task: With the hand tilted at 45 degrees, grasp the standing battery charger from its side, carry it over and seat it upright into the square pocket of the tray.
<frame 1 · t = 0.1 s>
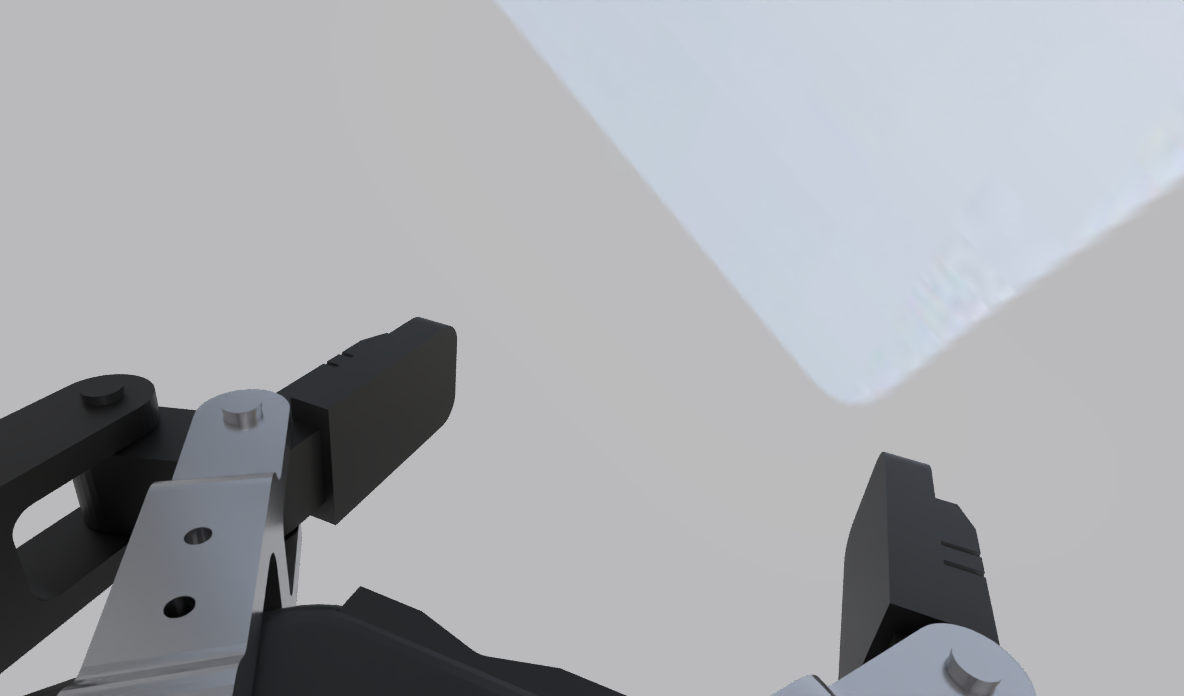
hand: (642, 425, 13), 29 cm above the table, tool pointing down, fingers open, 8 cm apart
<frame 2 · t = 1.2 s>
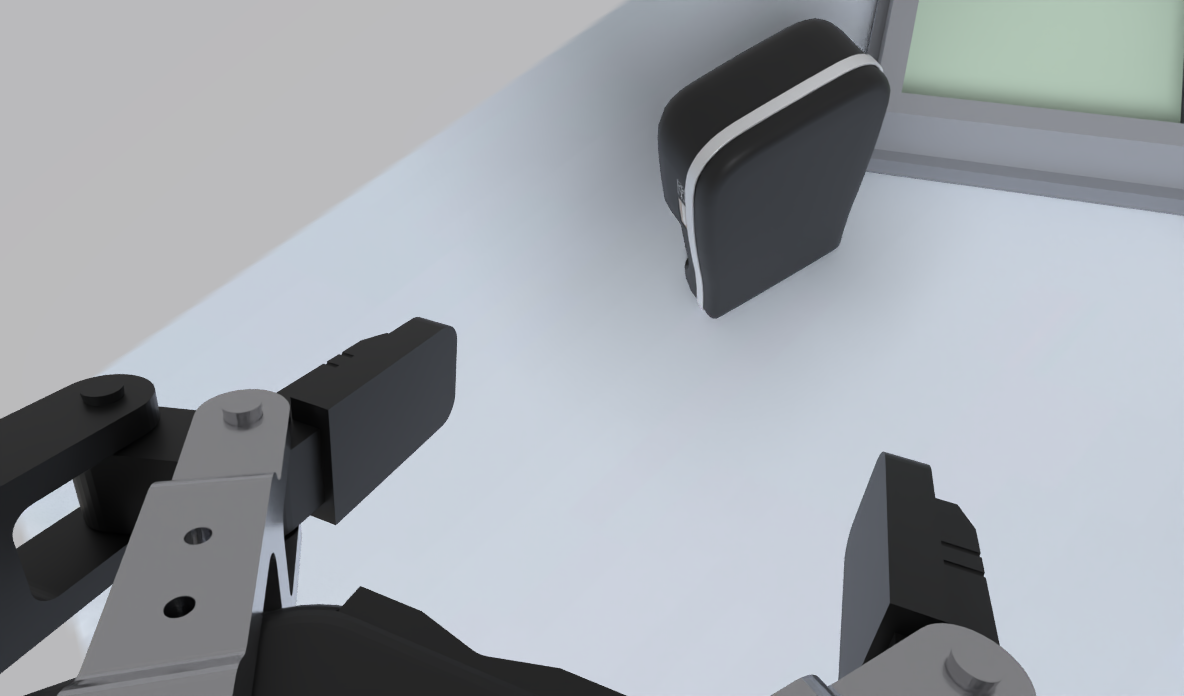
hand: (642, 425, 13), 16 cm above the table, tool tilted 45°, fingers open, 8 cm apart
battery charger: (752, 256, 31), on the table
tray: (1029, 59, 31), on the table
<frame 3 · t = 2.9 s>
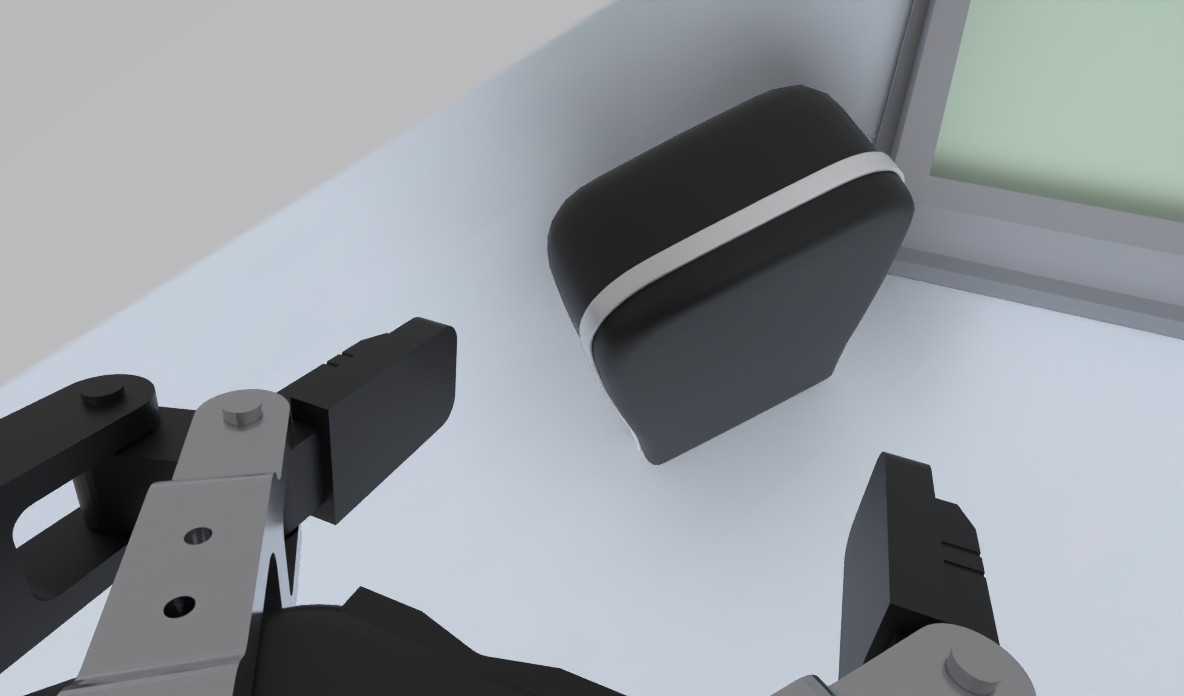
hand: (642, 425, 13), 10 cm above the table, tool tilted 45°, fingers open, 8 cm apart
battery charger: (715, 376, 23), on the table
tray: (1103, 131, 23), on the table
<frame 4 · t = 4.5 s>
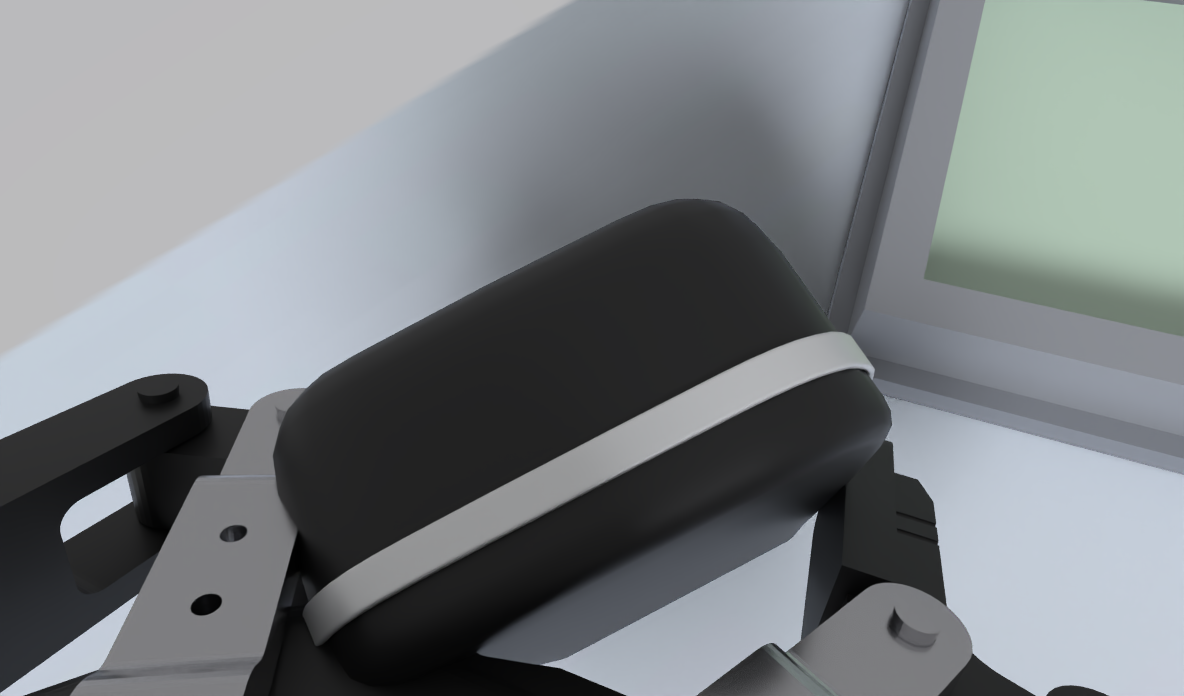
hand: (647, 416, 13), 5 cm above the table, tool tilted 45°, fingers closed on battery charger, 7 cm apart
battery charger: (642, 527, 17), on the table, touching gripper
tray: (1148, 202, 18), on the table
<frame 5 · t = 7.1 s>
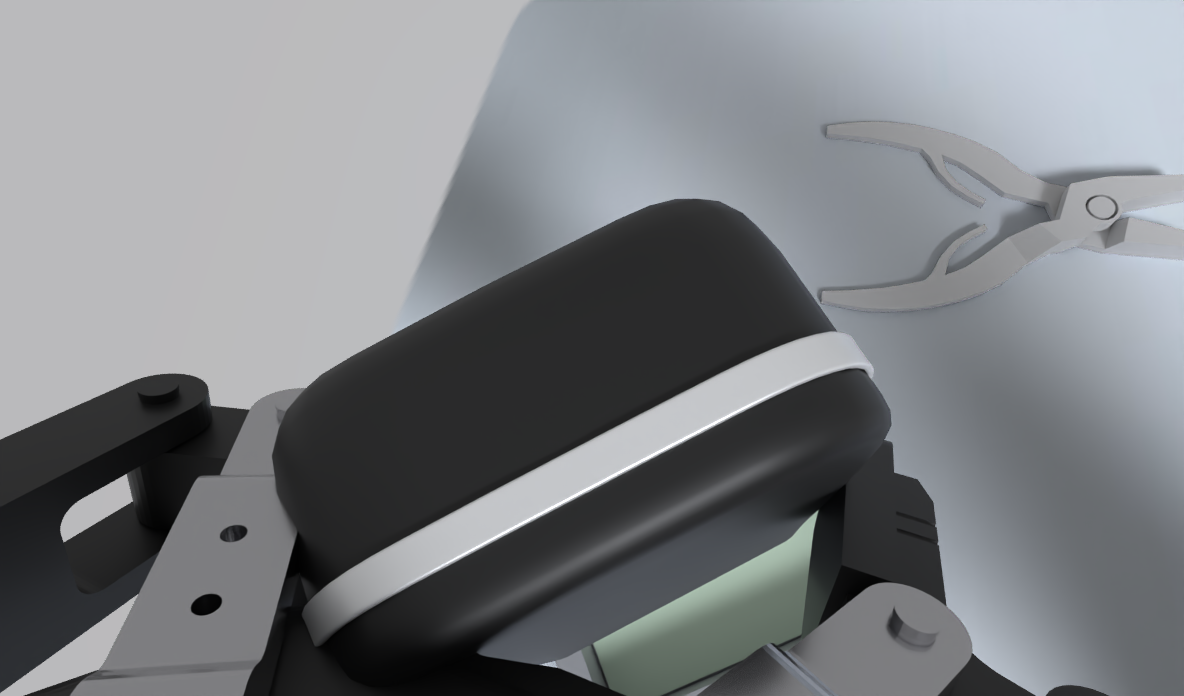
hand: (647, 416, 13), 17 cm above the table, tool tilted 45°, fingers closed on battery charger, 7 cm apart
pliers: (991, 224, 32), on the table
battery charger: (641, 527, 17), point 12 cm above the table, touching gripper
tray: (691, 522, 29), on the table
when the fingers open (7 cm above the table, at t = 9.7 s): battery charger drops 1 cm, resting on tray.
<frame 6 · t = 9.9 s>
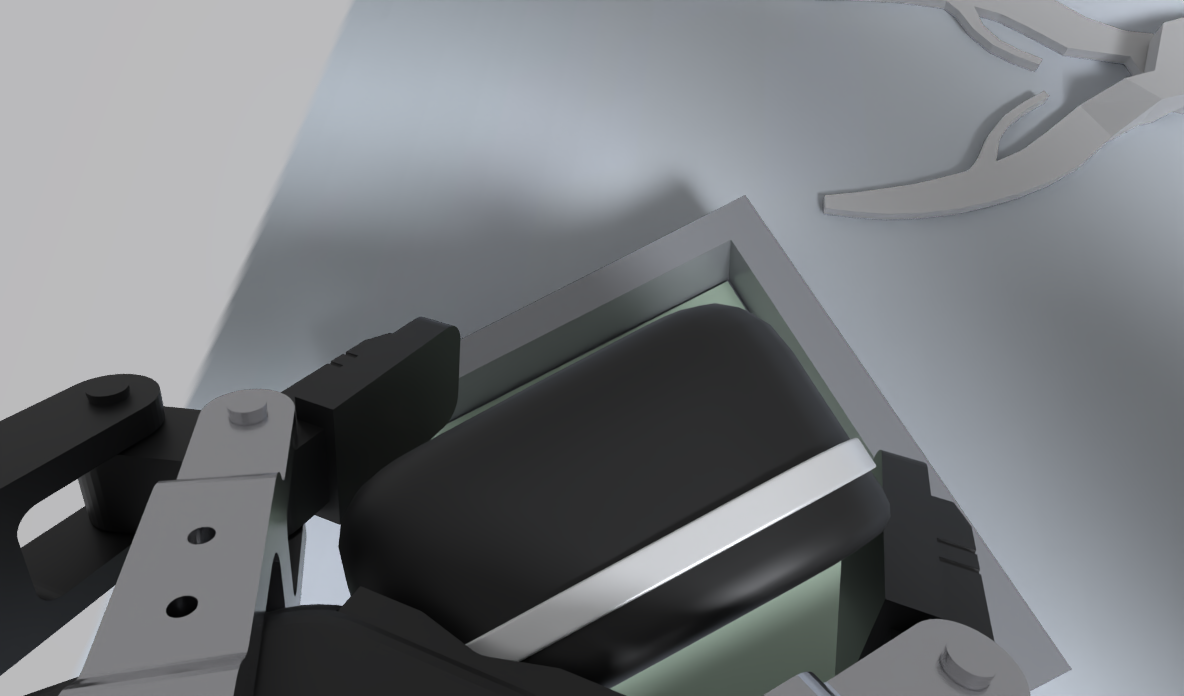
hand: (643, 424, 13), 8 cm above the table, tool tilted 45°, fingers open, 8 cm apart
pliers: (1050, 95, 23), on the table
battery charger: (640, 537, 19), point 1 cm above the table, touching tray
tray: (652, 535, 20), on the table
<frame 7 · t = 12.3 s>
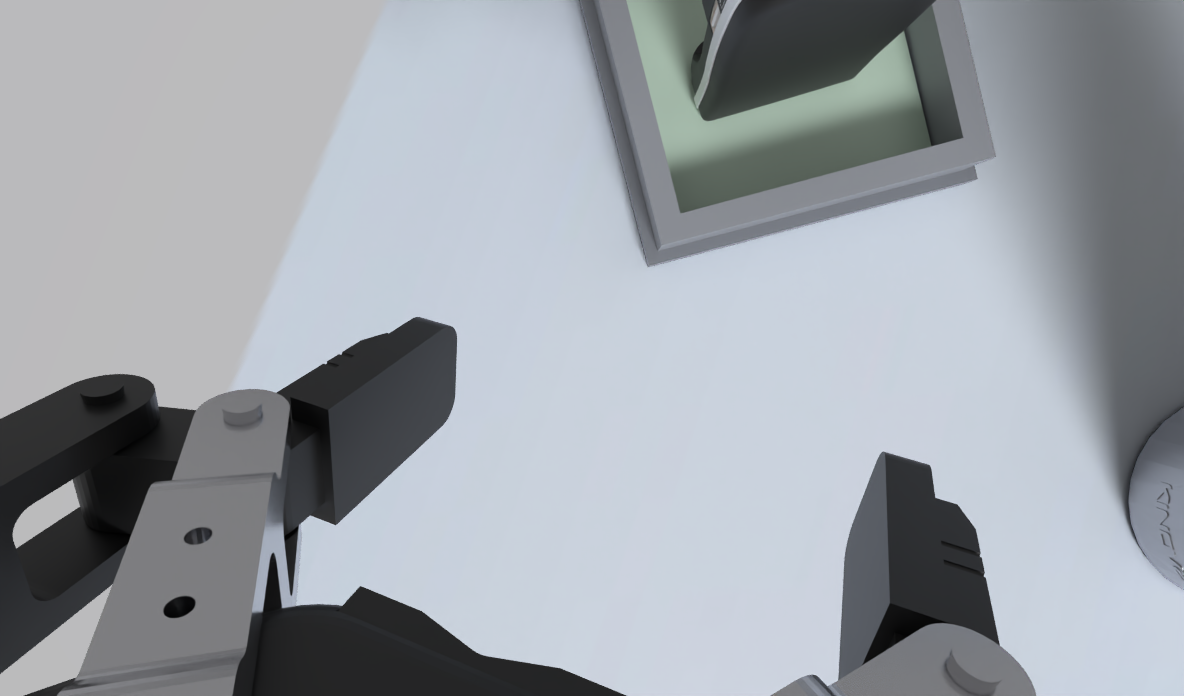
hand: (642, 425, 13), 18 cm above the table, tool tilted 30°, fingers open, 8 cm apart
battery charger: (764, 60, 29), point 1 cm above the table, touching tray
tray: (765, 66, 30), on the table
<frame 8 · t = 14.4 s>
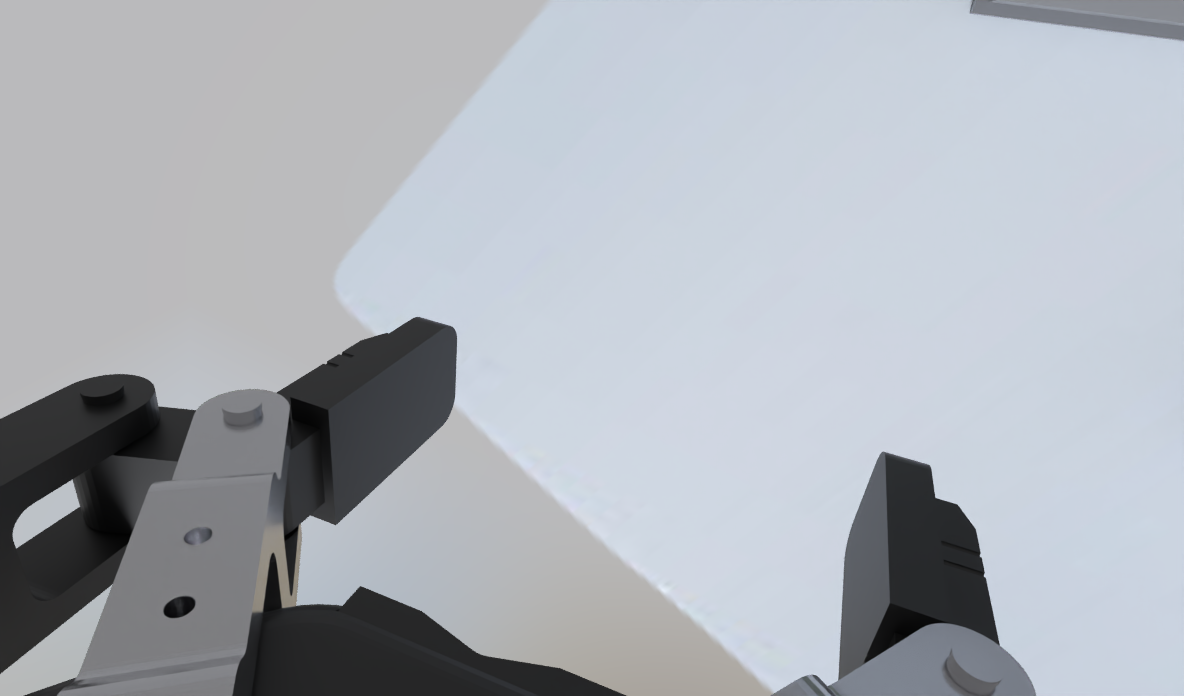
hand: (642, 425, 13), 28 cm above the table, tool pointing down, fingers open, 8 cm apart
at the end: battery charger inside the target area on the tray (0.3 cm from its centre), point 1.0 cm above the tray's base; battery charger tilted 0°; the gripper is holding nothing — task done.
